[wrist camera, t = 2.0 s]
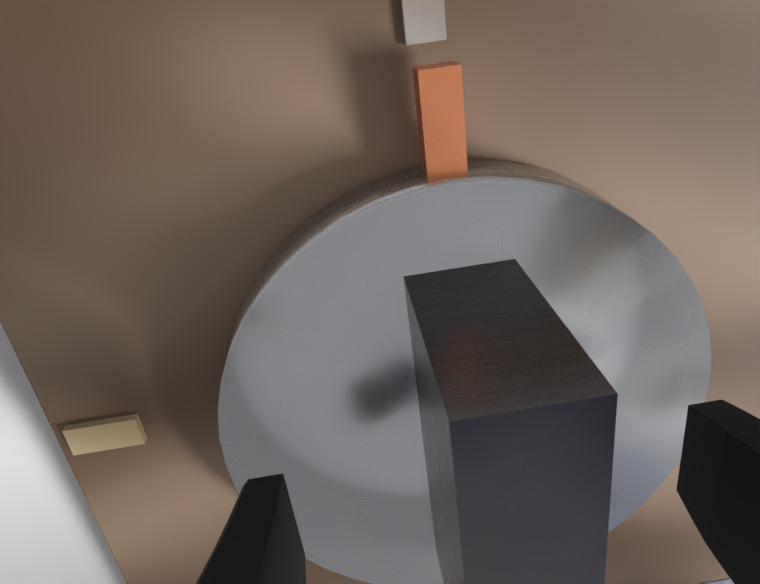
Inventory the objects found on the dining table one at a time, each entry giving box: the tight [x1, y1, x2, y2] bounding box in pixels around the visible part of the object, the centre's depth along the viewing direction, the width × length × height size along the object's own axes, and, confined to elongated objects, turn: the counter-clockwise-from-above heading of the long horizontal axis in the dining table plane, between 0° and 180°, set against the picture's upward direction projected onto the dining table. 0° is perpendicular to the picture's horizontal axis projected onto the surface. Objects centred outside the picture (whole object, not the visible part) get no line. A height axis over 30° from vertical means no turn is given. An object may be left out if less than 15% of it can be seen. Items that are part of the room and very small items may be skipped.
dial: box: [218, 61, 711, 584], centre depth 11 cm, size 12×10×6 cm
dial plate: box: [0, 0, 760, 584], centre depth 14 cm, size 18×18×2 cm
